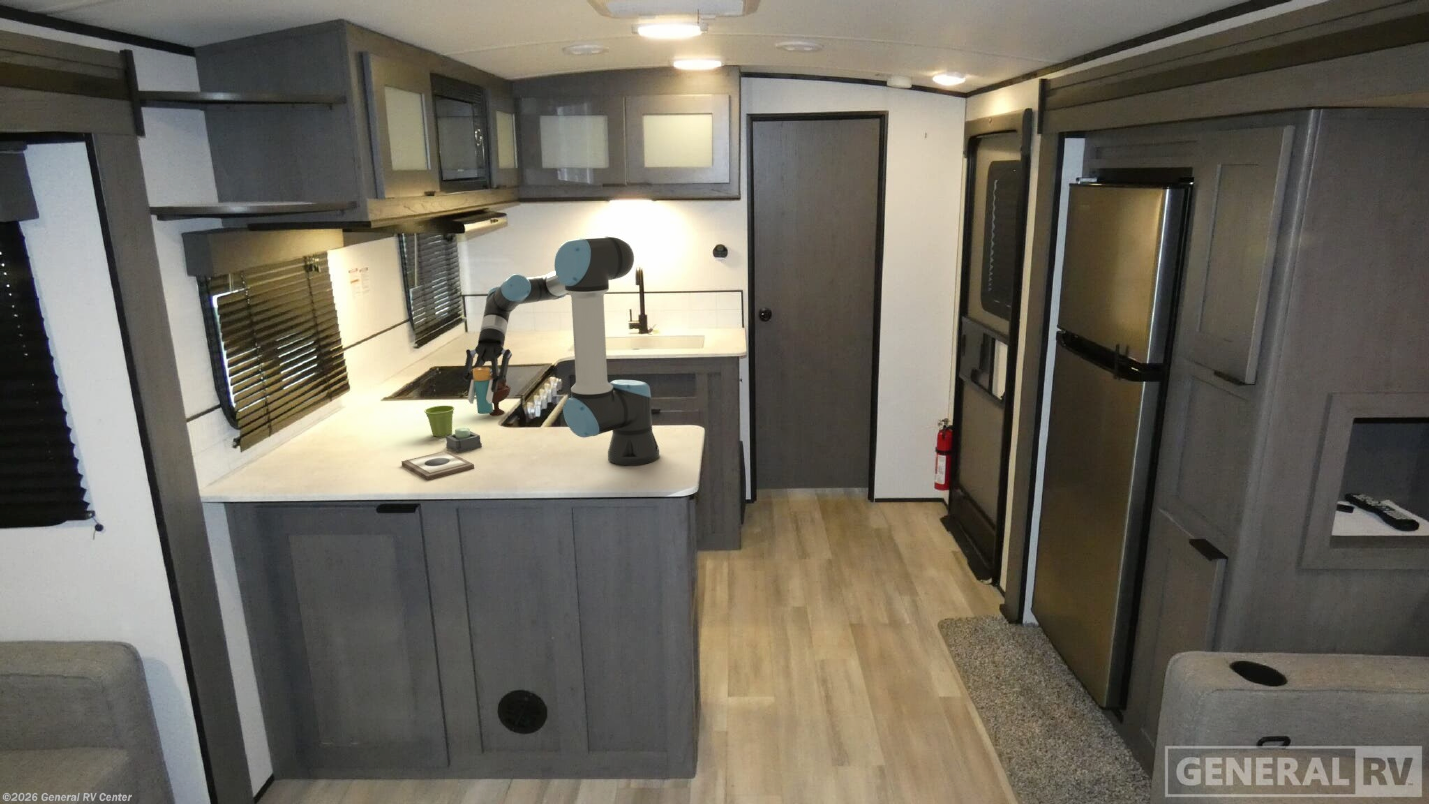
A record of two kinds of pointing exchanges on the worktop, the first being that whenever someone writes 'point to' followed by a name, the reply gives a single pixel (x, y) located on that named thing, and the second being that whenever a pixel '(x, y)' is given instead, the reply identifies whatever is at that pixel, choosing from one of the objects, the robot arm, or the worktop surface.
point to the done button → (462, 433)
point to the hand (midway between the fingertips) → (479, 401)
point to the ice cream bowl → (499, 396)
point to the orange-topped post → (482, 389)
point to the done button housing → (463, 442)
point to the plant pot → (440, 420)
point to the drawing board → (437, 465)
